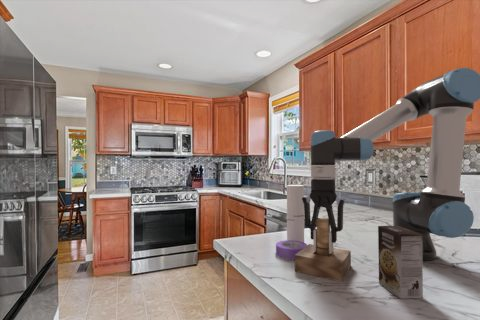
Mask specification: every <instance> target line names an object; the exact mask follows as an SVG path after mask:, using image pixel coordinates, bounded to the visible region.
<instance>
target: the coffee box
mask: <svg viewBox="0 0 480 320" xmlns="http://www.w3.org/2000/svg"><path fill="white" fill-rule="evenodd" d="M377 229H378V230H377V231H378V232H377V233H378V235H377V236H378V238H377V240H378V241H377V244H378V246H377V247H378V248H377V249H378V284H379V285H381V286H383V287H384V288H385V289H387V291H389V292H390V293H392V294H393V295H395V296H396V297H398V298H399V299H401V300H402V299H423V298H424V295H423V292H424V290H423V289H424V288H423V286H424V285H423V283H424V282H423V276H424V275H423V272H424V271H423V268H424V267H423V262H424V260H423V255H422V234H421V233H417V232H415V231H412V230H409V229H406V228H403V227H400V226H393V225H378V226H377Z"/></svg>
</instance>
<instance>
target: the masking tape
mask: <svg viewBox="0 0 480 320" xmlns="http://www.w3.org/2000/svg"><path fill="white" fill-rule="evenodd" d="M307 245H308V243H306V242H305V241H304V242H300V241H293V240H287V239H286V240H280V241H278V242H276V243H275V254H276V255H277V256H278V257H280V258H282V259H285V260H295V254H297V253H298V252H299V251H301V250H302V249H303V248H305V247H306V246H307Z"/></svg>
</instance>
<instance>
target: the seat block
mask: <svg viewBox="0 0 480 320" xmlns="http://www.w3.org/2000/svg"><path fill="white" fill-rule="evenodd" d="M333 250H334V251H333V253H332V254H330V257H328V256H323V255H317V251H314V244H310V243H309V244H308V243H307V246H306V247H305V248H303V249H302V250H301V251H299V252H298V253H297V254H295V259H294V271H295V272H298V273H302V274H306V275H311V276H316V277H320V278H323V279H329V280H333V281H338V282H341V283H342V282H343V281H344V279H345V277H346V275H347V273H348V272H349V270H350V268H351V266H352V261H351V259H352V256H351V254H352V253H351V250H347V249H342V248H337V247H336V248H335V247H333Z"/></svg>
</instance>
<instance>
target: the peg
mask: <svg viewBox="0 0 480 320" xmlns="http://www.w3.org/2000/svg"><path fill="white" fill-rule="evenodd" d="M316 229H317V255H323V256H328V257H330V253H329V232H330V231H331V228H330V223H329V219H328V217H318V218H317V224H316Z"/></svg>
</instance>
